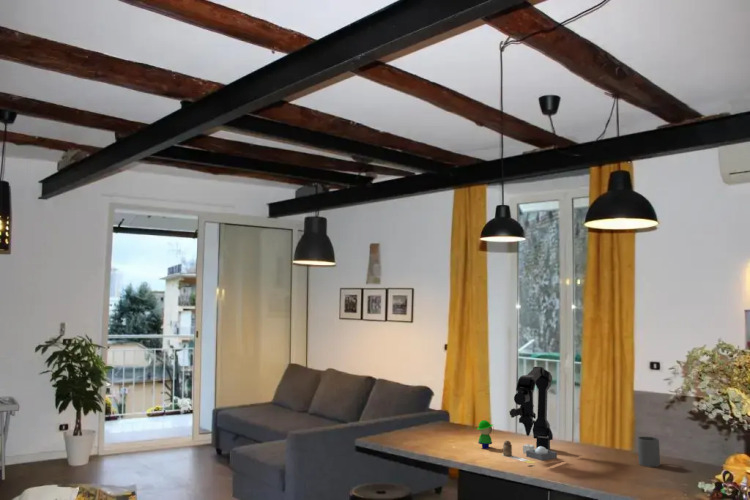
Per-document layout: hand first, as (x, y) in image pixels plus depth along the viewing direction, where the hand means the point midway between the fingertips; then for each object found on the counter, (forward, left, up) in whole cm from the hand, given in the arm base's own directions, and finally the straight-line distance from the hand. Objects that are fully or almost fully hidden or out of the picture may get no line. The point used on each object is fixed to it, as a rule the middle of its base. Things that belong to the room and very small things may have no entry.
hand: (527, 435), depth 303 cm
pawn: (+7, -7, -10) cm, 14 cm away
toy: (+4, -27, -11) cm, 30 cm away
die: (-6, -6, -10) cm, 13 cm away
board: (0, 0, -11) cm, 11 cm away
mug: (-43, +36, -11) cm, 57 cm away
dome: (-5, +4, -10) cm, 12 cm away
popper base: (-5, +4, -10) cm, 12 cm away
